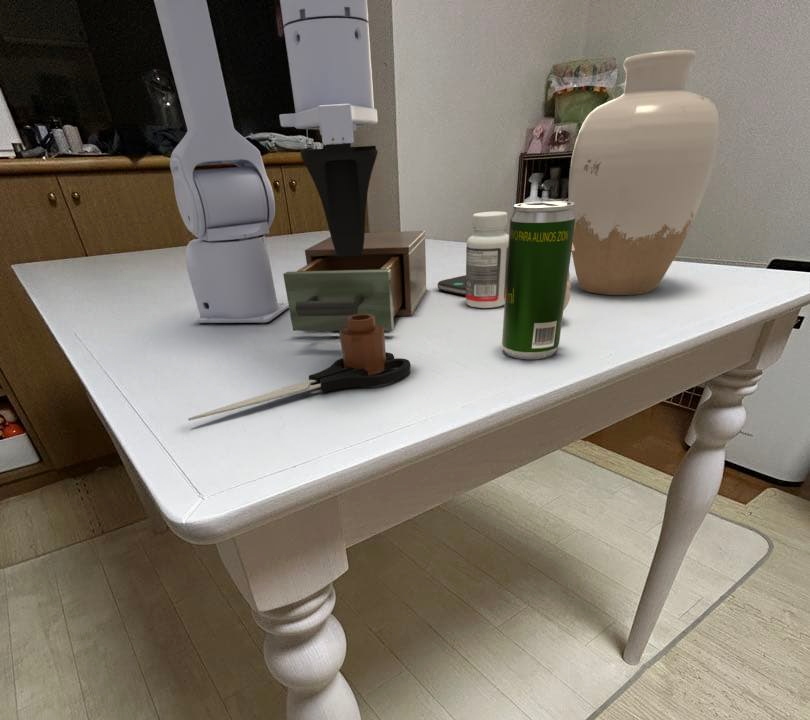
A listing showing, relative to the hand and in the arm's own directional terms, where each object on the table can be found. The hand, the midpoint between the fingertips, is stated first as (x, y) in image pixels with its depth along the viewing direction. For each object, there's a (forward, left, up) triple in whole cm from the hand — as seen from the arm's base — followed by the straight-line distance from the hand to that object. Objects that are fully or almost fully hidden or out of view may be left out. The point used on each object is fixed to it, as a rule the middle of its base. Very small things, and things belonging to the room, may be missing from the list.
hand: (349, 255), depth 43 cm
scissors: (-3, -7, -10) cm, 12 cm away
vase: (+28, +32, -10) cm, 43 cm away
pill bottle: (+11, +24, -10) cm, 28 cm away
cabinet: (-4, +25, -9) cm, 27 cm away
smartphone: (+11, +35, -10) cm, 38 cm away
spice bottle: (+1, -1, -9) cm, 9 cm away
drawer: (-4, +13, -9) cm, 16 cm away
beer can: (+16, +5, -10) cm, 19 cm away
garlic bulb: (+17, +15, -10) cm, 24 cm away
